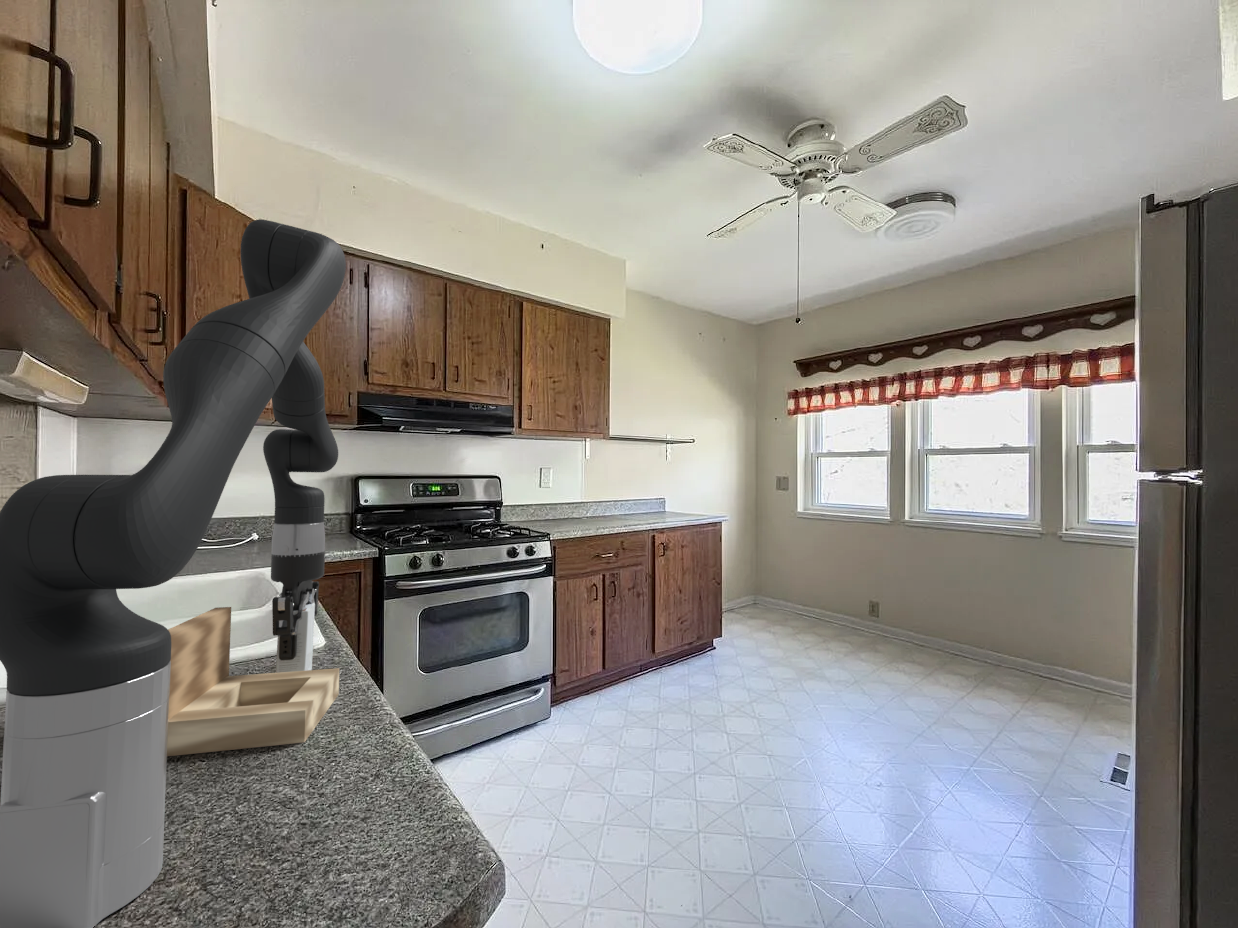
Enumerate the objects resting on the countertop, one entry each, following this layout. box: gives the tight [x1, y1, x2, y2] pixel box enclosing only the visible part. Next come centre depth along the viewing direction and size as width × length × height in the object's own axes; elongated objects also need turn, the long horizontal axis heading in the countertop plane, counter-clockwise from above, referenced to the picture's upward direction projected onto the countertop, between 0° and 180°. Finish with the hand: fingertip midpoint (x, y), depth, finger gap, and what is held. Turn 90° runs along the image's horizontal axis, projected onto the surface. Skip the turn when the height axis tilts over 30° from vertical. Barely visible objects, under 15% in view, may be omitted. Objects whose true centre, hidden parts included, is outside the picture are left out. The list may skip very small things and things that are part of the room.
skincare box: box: [275, 603, 315, 673], centre depth 85 cm, size 6×4×12 cm
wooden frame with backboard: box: [167, 606, 340, 757], centre depth 70 cm, size 16×17×14 cm
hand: (295, 651), depth 85 cm, fingers closed on skincare box, 6 cm apart
